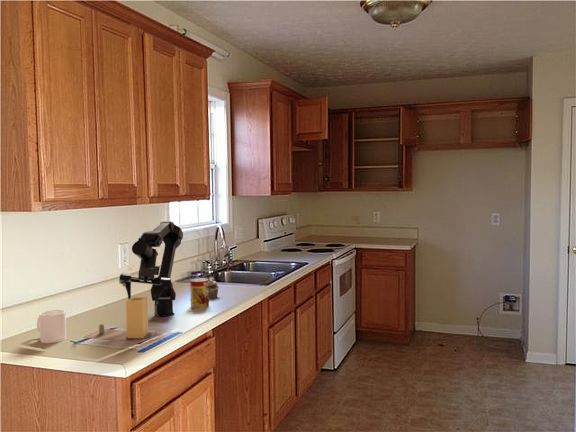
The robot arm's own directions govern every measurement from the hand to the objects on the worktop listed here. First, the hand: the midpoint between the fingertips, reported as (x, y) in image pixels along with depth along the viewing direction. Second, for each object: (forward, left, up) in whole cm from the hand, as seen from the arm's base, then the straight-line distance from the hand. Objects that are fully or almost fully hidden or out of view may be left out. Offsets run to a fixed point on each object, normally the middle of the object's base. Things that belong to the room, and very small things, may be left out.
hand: (142, 303), depth 189 cm
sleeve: (+5, +9, -9) cm, 14 cm away
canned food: (-34, -20, -10) cm, 40 cm away
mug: (+30, -9, -10) cm, 33 cm away
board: (+10, +3, -10) cm, 14 cm away
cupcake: (-46, -34, -10) cm, 58 cm away
